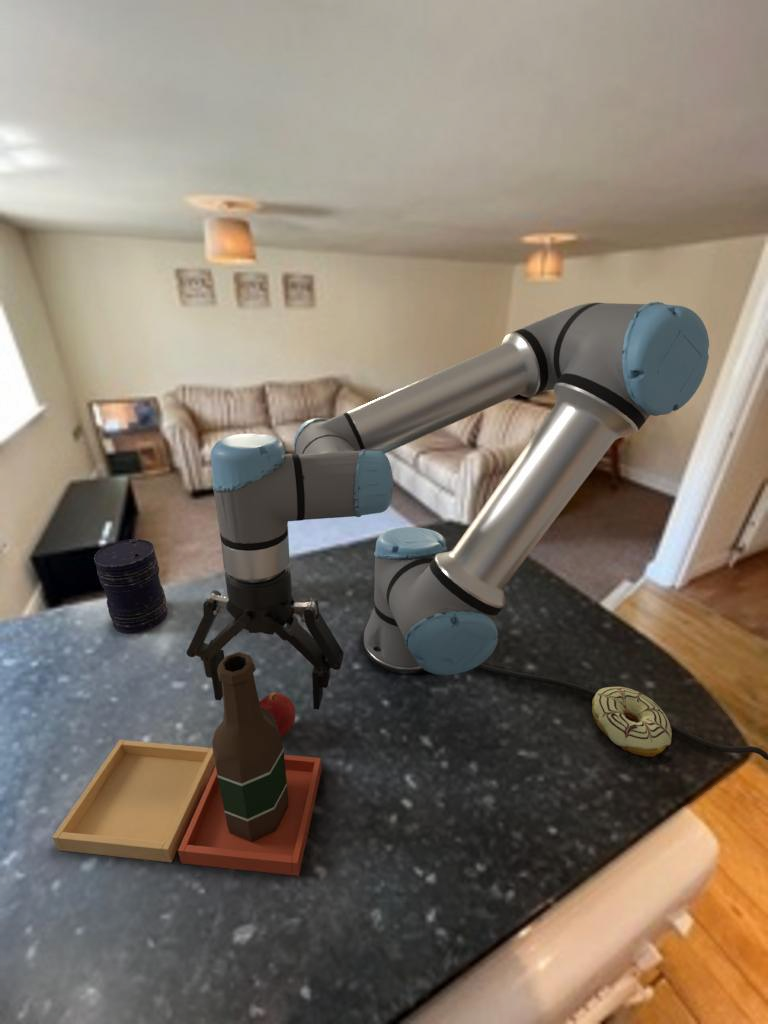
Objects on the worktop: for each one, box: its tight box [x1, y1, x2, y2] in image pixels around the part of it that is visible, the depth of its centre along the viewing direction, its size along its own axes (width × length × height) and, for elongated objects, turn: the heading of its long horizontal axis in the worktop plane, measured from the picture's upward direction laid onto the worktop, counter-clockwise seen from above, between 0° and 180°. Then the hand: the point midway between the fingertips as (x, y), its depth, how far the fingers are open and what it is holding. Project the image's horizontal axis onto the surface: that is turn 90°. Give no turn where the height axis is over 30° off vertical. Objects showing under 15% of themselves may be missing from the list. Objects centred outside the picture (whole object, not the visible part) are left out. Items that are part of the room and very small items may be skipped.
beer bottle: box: [211, 651, 288, 842], centre depth 50 cm, size 8×8×24 cm
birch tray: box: [51, 739, 215, 863], centre depth 56 cm, size 13×12×2 cm
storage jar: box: [93, 538, 169, 635], centre depth 84 cm, size 10×10×18 cm
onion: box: [259, 691, 296, 738], centre depth 64 cm, size 6×6×8 cm
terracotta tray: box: [177, 754, 323, 877], centre depth 55 cm, size 13×12×2 cm
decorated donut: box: [591, 686, 673, 758], centre depth 67 cm, size 10×11×4 cm
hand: (269, 697), depth 62 cm, fingers open, 13 cm apart
